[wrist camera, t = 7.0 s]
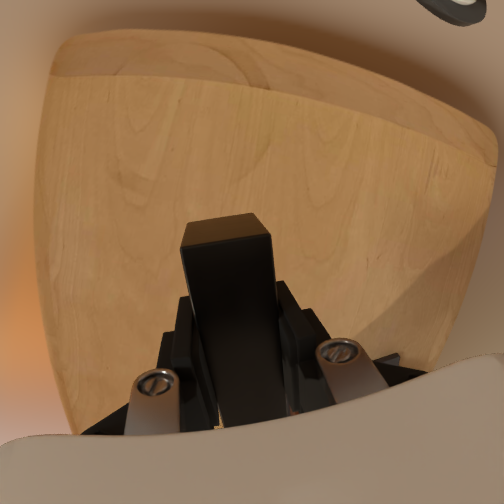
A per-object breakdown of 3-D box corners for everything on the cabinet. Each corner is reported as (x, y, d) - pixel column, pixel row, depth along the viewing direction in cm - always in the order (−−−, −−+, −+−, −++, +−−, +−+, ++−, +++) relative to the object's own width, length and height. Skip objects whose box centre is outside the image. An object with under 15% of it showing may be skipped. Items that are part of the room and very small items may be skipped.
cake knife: (186, 222, 11) (174, 263, 7) (253, 212, 11) (282, 246, 7) (250, 487, 16) (259, 538, 12) (284, 480, 17) (298, 531, 12)
